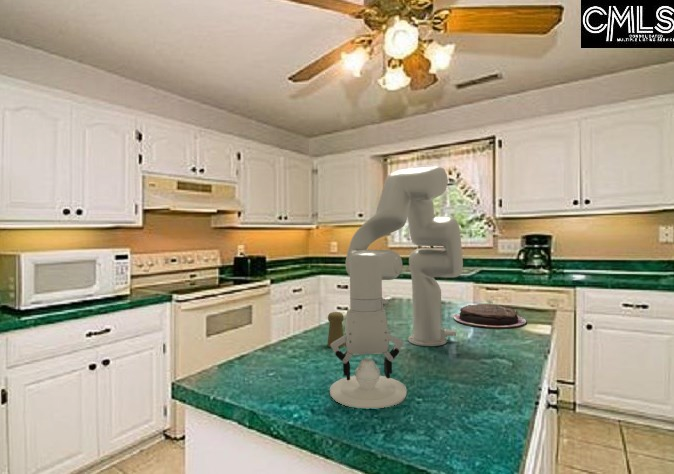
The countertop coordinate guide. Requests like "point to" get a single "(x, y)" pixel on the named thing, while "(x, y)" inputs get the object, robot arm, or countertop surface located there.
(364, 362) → the muffin
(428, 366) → the countertop surface
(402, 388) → the plate
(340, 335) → the cork
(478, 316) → the chocolate cake
